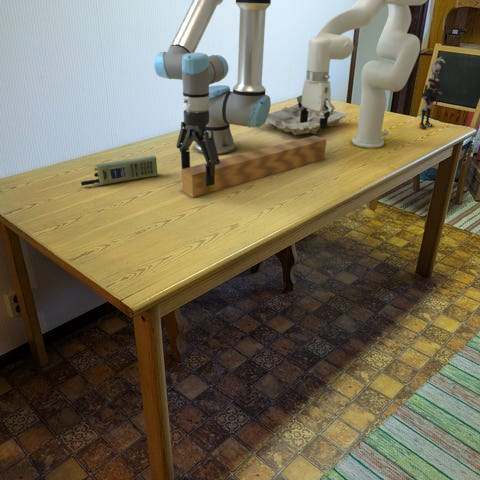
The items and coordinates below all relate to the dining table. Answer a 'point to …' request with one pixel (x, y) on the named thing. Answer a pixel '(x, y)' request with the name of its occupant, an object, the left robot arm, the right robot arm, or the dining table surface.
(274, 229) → the dining table surface
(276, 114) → the grey rock slab
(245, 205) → the dining table surface
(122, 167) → the handheld radio
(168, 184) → the dining table surface
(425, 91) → the figurine
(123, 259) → the dining table surface
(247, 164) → the post
